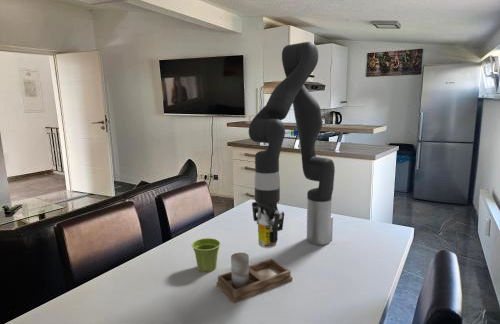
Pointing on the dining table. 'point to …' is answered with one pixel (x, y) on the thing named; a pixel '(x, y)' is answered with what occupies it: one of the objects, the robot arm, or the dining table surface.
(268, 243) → the supplement bottle
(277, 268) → the caddy
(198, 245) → the plant pot
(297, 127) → the robot arm
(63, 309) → the dining table surface
